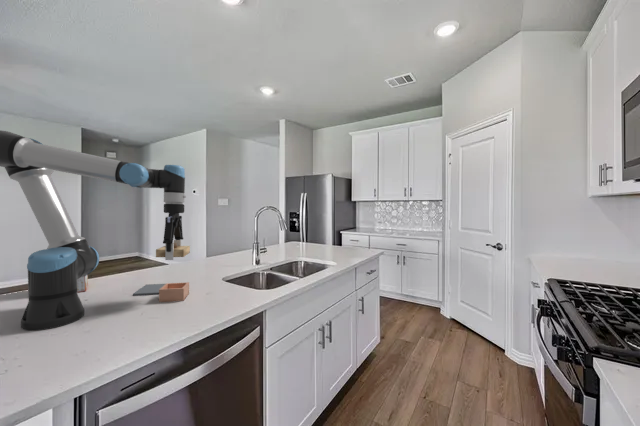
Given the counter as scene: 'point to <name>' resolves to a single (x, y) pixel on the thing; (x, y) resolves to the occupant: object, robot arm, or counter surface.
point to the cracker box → (82, 283)
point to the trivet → (149, 289)
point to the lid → (178, 251)
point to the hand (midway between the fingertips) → (173, 257)
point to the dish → (174, 292)
